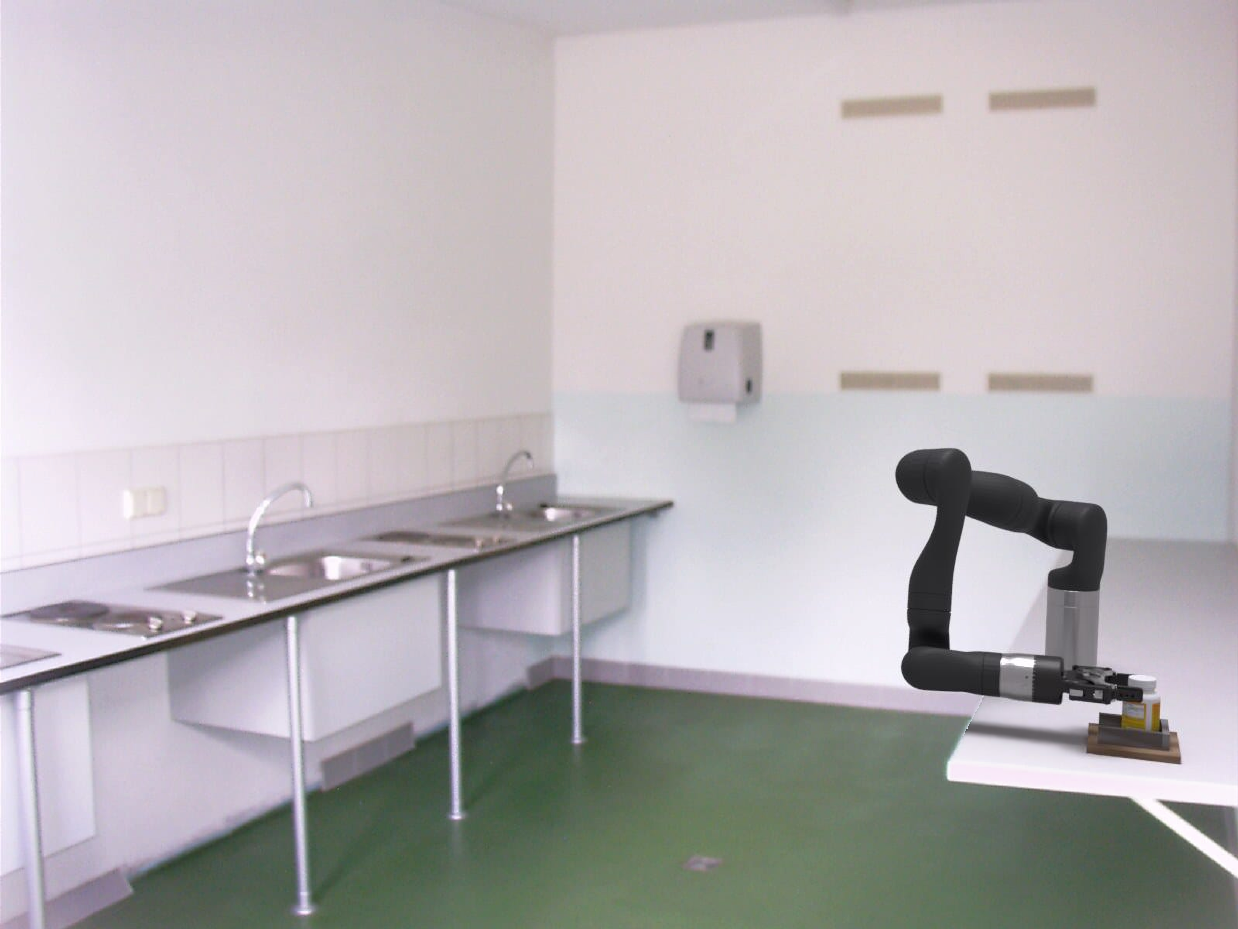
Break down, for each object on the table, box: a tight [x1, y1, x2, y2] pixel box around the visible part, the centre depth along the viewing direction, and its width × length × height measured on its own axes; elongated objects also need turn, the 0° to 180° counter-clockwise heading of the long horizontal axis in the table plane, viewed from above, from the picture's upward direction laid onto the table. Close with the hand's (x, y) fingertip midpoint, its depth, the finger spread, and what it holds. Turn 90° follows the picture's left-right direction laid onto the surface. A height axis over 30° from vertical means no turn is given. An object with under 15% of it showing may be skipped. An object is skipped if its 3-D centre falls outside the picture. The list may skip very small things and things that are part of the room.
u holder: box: [1086, 711, 1182, 765], centre depth 194 cm, size 14×13×4 cm
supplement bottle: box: [1121, 674, 1161, 732], centre depth 194 cm, size 5×5×10 cm
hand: (1142, 688), depth 193 cm, fingers open, 8 cm apart
